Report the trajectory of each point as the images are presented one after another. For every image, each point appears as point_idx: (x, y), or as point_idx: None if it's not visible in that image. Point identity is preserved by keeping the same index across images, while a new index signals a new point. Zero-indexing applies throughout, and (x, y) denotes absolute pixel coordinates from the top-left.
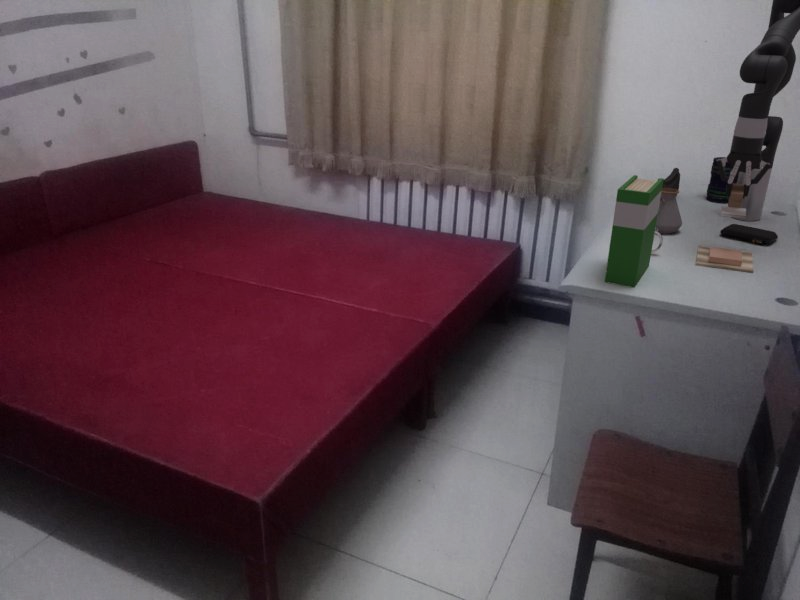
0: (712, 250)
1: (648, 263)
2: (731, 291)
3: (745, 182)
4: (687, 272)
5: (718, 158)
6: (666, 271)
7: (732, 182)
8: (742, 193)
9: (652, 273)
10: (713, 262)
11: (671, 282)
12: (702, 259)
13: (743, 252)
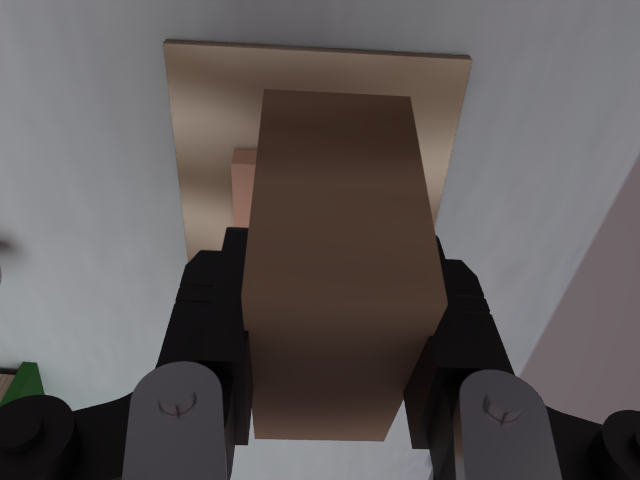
0: (245, 221)
1: (32, 393)
2: (319, 447)
3: (447, 421)
4: None
5: None
6: (109, 383)
7: (232, 456)
8: (377, 434)
9: (73, 409)
10: None
11: None
12: None
13: (422, 75)
